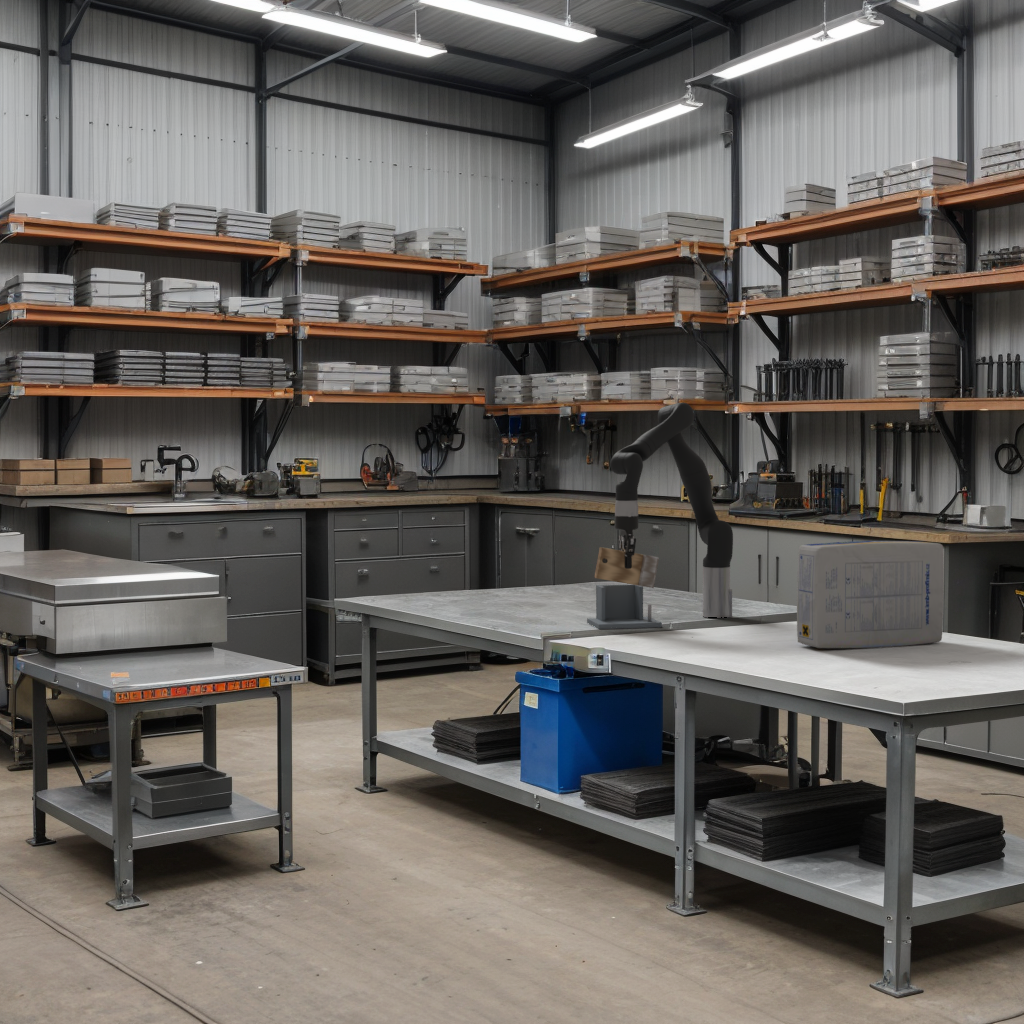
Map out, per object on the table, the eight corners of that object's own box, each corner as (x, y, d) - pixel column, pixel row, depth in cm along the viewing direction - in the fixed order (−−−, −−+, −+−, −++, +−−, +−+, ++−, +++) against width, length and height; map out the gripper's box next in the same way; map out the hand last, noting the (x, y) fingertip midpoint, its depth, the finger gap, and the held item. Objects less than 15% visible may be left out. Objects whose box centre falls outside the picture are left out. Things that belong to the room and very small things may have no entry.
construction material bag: (920, 638, 364) (921, 538, 363) (945, 644, 353) (945, 541, 352) (794, 646, 351) (794, 542, 349) (816, 652, 340) (816, 545, 338)
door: (649, 586, 397) (654, 556, 397) (653, 588, 392) (659, 557, 392) (593, 577, 393) (599, 546, 393) (597, 578, 388) (603, 547, 388)
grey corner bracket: (648, 621, 407) (648, 583, 406) (661, 627, 392) (661, 588, 391) (587, 623, 403) (587, 585, 402) (598, 629, 388) (598, 590, 387)
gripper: (609, 513, 398) (609, 566, 399) (621, 515, 384) (621, 570, 385) (631, 513, 399) (631, 566, 400) (644, 515, 386) (644, 569, 386)
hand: (626, 567), depth 393 cm, fingers closed on door, 3 cm apart
